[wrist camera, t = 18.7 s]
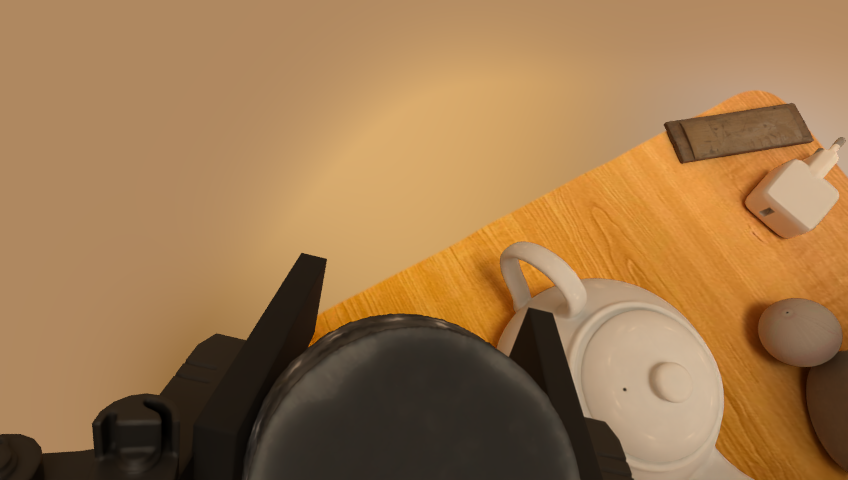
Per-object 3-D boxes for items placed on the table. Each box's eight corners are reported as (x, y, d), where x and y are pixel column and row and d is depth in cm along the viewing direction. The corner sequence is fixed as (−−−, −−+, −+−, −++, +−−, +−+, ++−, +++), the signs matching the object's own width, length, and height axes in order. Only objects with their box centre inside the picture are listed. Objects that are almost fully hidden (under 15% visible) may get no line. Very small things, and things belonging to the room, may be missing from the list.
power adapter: (839, 175, 53) (794, 138, 54) (881, 156, 49) (832, 116, 49) (779, 245, 51) (734, 205, 52) (818, 232, 46) (767, 189, 47)
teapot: (670, 290, 47) (785, 248, 34) (688, 506, 41) (836, 553, 28) (478, 270, 46) (524, 217, 33) (468, 491, 40) (520, 534, 27)
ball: (757, 346, 49) (803, 392, 44) (733, 311, 46) (779, 354, 41) (815, 312, 47) (870, 355, 42) (794, 273, 45) (849, 314, 40)
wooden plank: (808, 144, 55) (787, 107, 57) (818, 138, 54) (796, 100, 56) (679, 163, 52) (661, 123, 53) (687, 157, 51) (668, 116, 52)
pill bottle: (307, 342, 18) (230, 254, 7) (474, 355, 18) (622, 290, 8) (281, 538, 16) (124, 795, 5) (469, 545, 16) (657, 791, 6)
